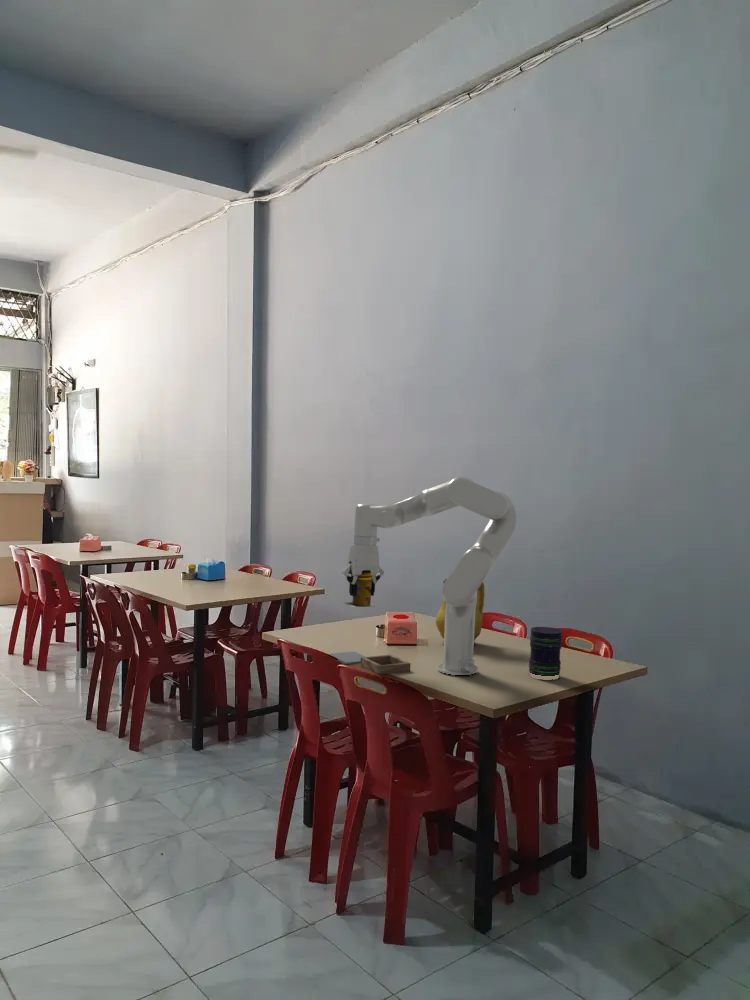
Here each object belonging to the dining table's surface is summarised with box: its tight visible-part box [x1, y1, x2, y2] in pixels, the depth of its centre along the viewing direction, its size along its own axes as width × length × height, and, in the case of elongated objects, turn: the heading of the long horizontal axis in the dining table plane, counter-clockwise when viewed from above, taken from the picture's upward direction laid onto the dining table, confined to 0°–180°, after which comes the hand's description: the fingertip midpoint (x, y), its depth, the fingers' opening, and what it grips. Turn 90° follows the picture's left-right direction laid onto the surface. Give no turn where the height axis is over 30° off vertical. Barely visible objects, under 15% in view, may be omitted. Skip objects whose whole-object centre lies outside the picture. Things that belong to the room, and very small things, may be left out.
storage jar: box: [528, 626, 563, 676], centre depth 246 cm, size 10×10×15 cm
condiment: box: [342, 570, 375, 608], centre depth 255 cm, size 7×8×12 cm
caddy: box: [360, 654, 412, 675], centre depth 249 cm, size 12×11×2 cm
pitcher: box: [435, 578, 486, 645], centre depth 288 cm, size 17×19×25 cm
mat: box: [330, 651, 366, 665], centre depth 259 cm, size 13×10×1 cm
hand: (361, 594), depth 256 cm, fingers closed on condiment, 6 cm apart
